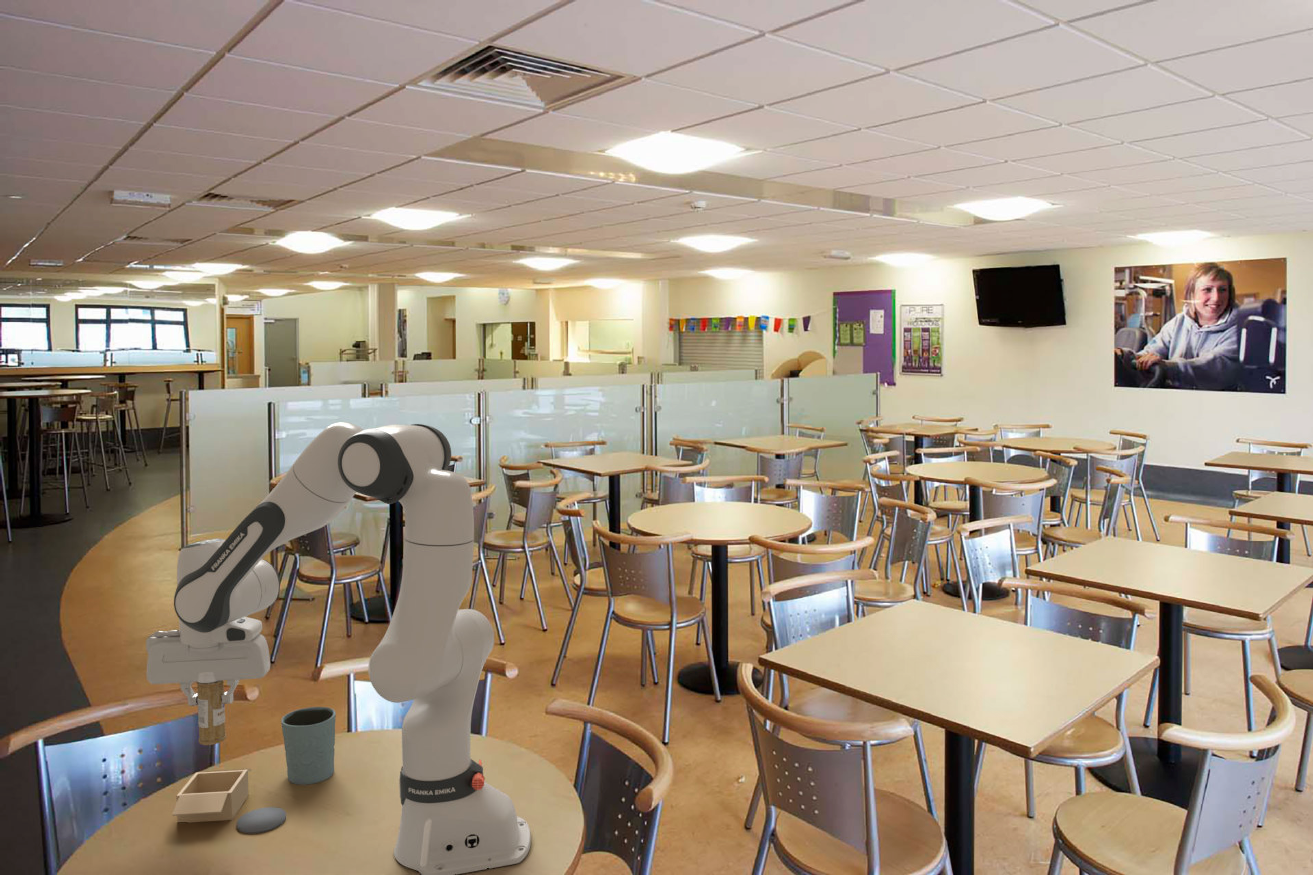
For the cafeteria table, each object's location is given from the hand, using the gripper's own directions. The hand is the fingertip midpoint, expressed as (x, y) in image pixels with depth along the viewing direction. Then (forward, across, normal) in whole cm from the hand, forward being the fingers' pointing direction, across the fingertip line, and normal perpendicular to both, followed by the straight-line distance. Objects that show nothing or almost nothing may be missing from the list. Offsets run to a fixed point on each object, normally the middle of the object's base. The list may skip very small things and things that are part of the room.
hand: (211, 703), depth 161 cm
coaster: (+20, +10, -6) cm, 23 cm away
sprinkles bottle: (+7, 0, 0) cm, 7 cm away
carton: (+20, 0, 0) cm, 20 cm away
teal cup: (+20, +14, +12) cm, 27 cm away
